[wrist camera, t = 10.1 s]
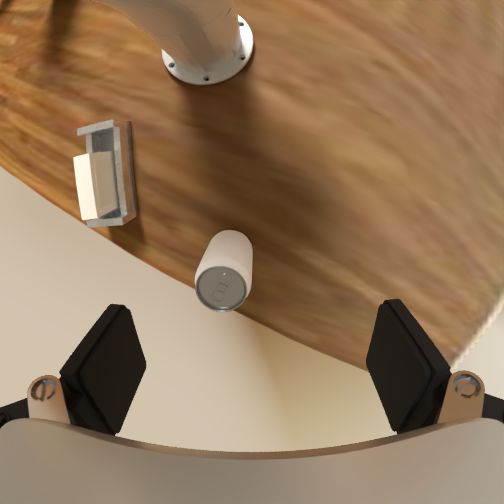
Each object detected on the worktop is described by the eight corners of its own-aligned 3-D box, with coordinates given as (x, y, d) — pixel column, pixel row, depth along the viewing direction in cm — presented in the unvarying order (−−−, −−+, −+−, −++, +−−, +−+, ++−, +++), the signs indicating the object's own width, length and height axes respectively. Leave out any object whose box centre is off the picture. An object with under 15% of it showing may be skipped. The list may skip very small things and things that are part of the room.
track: (96, 129, 34) (76, 128, 29) (130, 121, 34) (113, 119, 29) (105, 217, 39) (87, 227, 34) (138, 214, 39) (123, 225, 34)
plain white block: (103, 153, 35) (73, 157, 27) (118, 150, 35) (89, 153, 27) (110, 205, 38) (82, 220, 30) (124, 203, 38) (97, 218, 30)
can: (260, 239, 40) (261, 276, 29) (242, 276, 43) (237, 322, 31) (217, 221, 40) (202, 253, 28) (202, 260, 42) (184, 302, 31)
